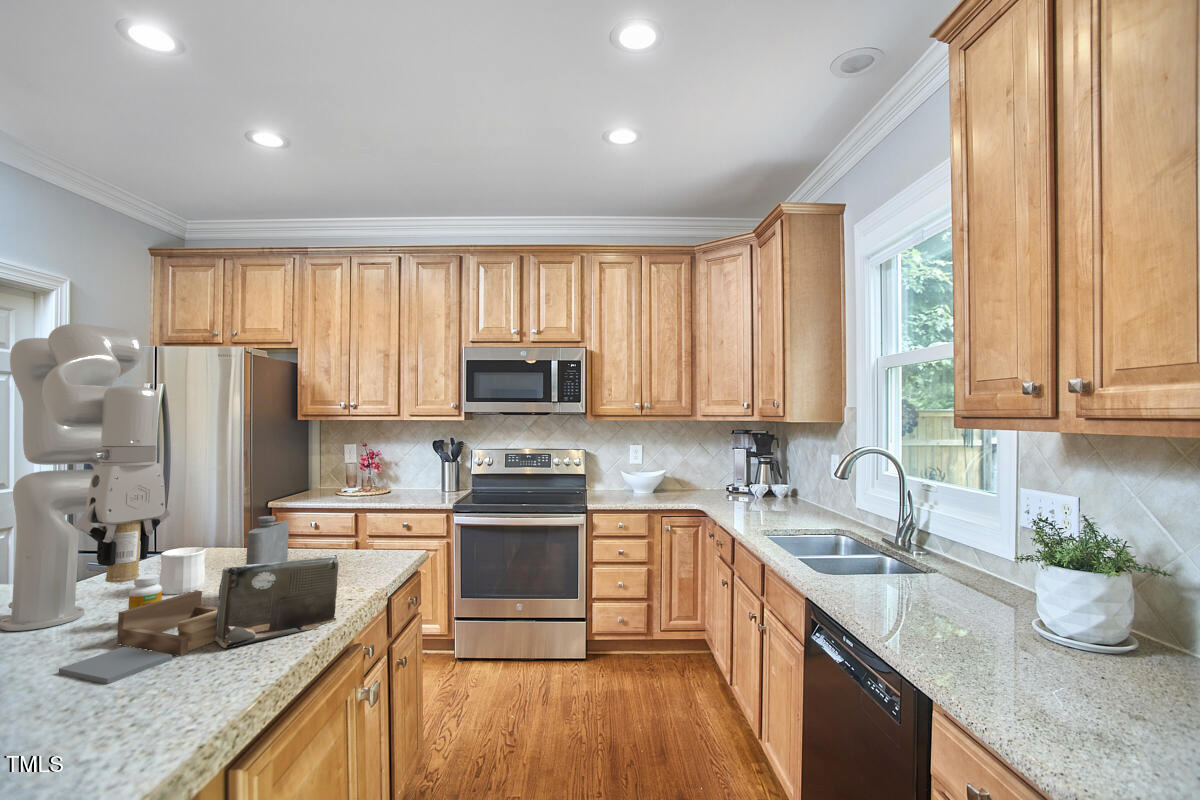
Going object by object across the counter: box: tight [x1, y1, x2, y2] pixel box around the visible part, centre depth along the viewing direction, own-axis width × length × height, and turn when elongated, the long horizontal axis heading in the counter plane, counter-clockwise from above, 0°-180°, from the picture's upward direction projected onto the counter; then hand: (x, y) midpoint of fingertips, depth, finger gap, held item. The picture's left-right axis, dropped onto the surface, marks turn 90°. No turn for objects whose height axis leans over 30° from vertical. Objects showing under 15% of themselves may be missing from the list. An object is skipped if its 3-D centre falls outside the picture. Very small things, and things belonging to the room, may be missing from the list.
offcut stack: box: [176, 610, 217, 652], centre depth 108 cm, size 4×11×4 cm, turn 162°
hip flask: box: [245, 515, 290, 565], centre depth 133 cm, size 16×4×20 cm, turn 6°
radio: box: [214, 554, 340, 649], centre depth 114 cm, size 23×9×15 cm, turn 134°
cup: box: [158, 546, 207, 595], centre depth 141 cm, size 10×10×10 cm
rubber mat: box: [58, 646, 173, 685], centre depth 96 cm, size 12×10×1 cm
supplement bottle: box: [127, 573, 163, 610], centre depth 116 cm, size 5×5×10 cm
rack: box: [116, 590, 218, 657], centre depth 110 cm, size 17×15×6 cm
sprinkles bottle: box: [105, 521, 141, 584], centre depth 97 cm, size 5×5×14 cm
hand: (123, 560), depth 96 cm, fingers closed on sprinkles bottle, 4 cm apart
